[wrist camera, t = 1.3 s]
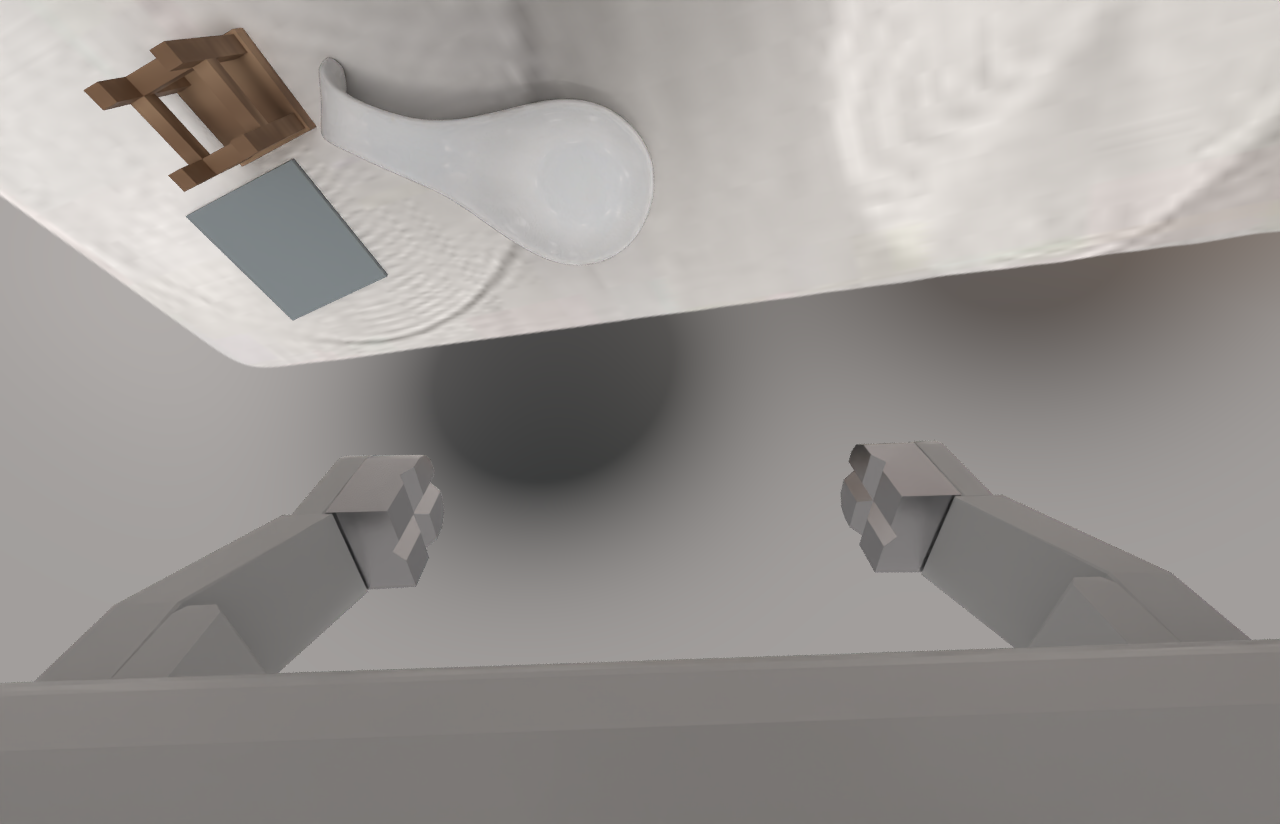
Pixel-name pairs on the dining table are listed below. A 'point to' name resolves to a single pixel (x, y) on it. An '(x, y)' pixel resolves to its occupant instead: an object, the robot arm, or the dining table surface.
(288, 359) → the dining table surface
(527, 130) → the spoon rest
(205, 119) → the stool
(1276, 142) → the dining table surface
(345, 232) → the felt mat
